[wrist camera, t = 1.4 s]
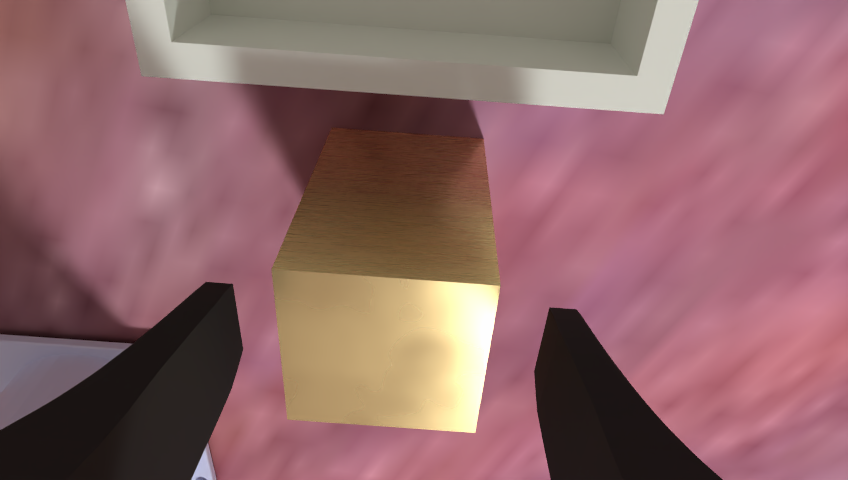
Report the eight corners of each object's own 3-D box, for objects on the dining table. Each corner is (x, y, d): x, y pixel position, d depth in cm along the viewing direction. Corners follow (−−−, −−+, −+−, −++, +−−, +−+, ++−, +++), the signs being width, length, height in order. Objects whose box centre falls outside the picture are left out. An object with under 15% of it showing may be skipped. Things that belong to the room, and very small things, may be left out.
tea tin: (467, 260, 20) (474, 432, 14) (335, 251, 20) (287, 419, 14) (483, 138, 17) (500, 285, 11) (332, 127, 17) (272, 269, 11)
